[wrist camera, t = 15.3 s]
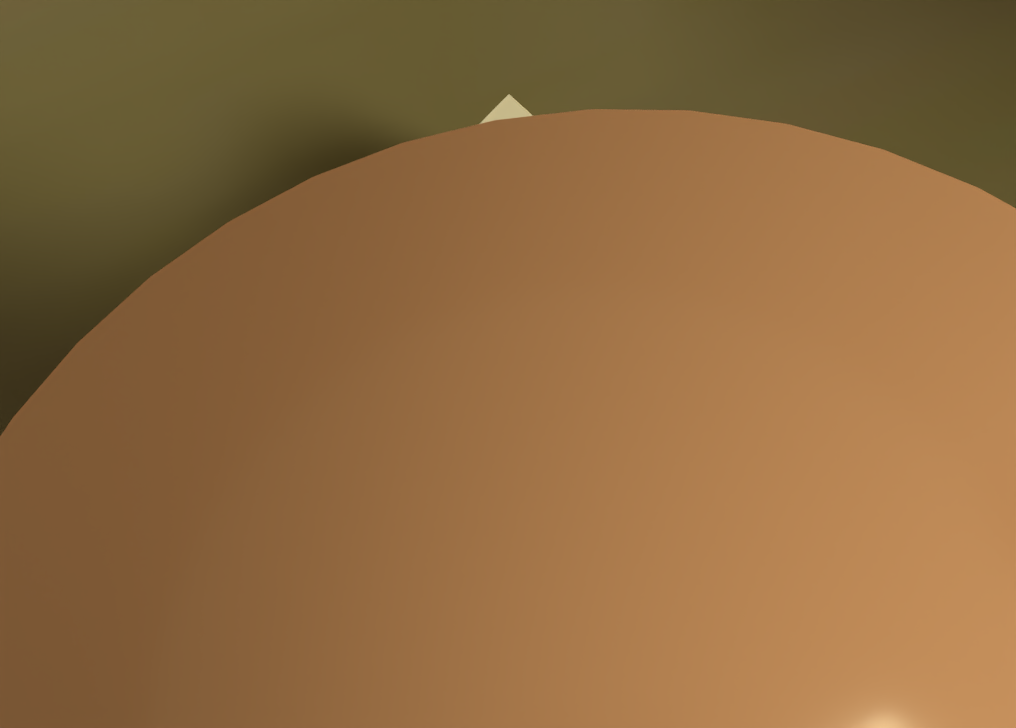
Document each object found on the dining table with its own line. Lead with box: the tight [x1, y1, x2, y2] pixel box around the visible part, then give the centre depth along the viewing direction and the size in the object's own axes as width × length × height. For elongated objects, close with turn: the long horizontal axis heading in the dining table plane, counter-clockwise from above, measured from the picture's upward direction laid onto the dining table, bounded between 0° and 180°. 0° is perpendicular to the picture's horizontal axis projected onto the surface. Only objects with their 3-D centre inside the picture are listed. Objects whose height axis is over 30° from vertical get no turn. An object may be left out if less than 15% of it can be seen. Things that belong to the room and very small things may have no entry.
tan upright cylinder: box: [0, 109, 1016, 728], centre depth 8 cm, size 5×5×12 cm
